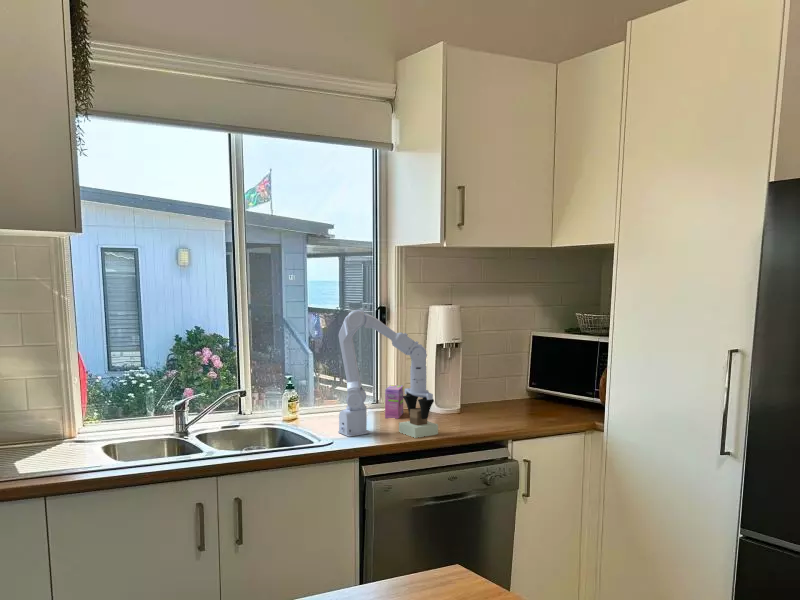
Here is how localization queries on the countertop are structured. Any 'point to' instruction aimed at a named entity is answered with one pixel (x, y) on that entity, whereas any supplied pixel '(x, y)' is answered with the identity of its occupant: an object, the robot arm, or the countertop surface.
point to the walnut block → (417, 417)
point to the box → (394, 401)
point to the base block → (418, 429)
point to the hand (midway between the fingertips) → (418, 416)
